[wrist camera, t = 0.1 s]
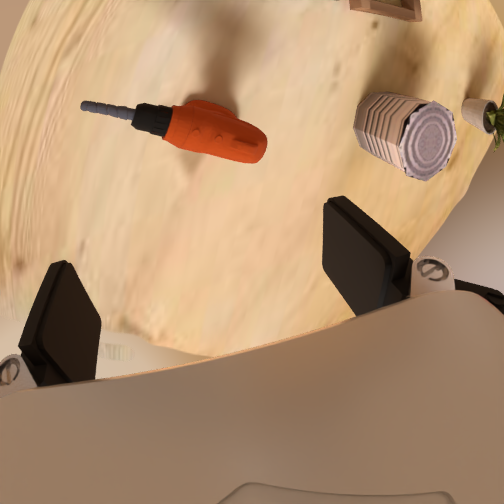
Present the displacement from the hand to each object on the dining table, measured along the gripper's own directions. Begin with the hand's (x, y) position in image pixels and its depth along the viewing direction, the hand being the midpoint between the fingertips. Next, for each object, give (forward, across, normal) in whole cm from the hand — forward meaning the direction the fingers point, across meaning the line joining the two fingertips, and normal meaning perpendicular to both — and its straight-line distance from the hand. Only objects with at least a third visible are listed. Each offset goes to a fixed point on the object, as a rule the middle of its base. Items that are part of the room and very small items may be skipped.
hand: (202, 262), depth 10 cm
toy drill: (+31, 0, -2) cm, 31 cm away
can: (+31, -31, +3) cm, 44 cm away
